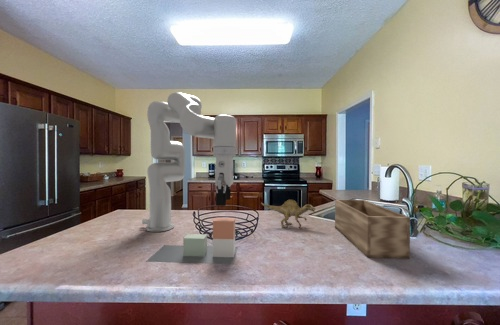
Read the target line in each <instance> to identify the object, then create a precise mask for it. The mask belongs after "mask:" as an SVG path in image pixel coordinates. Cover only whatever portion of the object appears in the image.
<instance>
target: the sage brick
mask: <svg viewBox="0 0 500 325" xmlns="http://www.w3.org/2000/svg"><path fill="white" fill-rule="evenodd" d="M182 241H183V243H182V244H183V245H182V246H183V256H203V257H204V256H205V254H206V252H207V246H208V234H207V233H205V234H202V233H201V234H199V233H198V234H197V233H196V234H195V233H193V234H192V233H187V234H186V235H185V236H184V237H183V240H182Z"/></svg>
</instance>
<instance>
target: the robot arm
mask: <svg viewBox="0 0 500 325" xmlns="http://www.w3.org/2000/svg"><path fill="white" fill-rule="evenodd" d="M201 113H202V101H201V100H200V98H198V97H197V96H195V95H191V94H187V93H183V92H180V91H174V92H172V93H170V94H169V95H168V96H167V101H166V102H165V101H161V100H160V101H159V100H156V101H152V102H151V103H149V105H148V107H147V113H146V115H147V117H146V118H147V121H148V122H147V123H148V125H149V129H150V154H151V157H152V159H154V160H161V161H163V160H164V161H165V160H166V161H168V160H169V161H172V162H153V163H151V164H150V165H149V166H148V167H147V171H146V172H147V178H148V186H149V218H142V221H141V224H142V225H147V226H145V230H146V231H147V232H152V233H160V232H166V231H170V230H172V229H173V228H174V227H175V223H174V222H172V191H171V188H170V186H169V185H168V184H167V183H169V182H171V183H172V182H179V181H182V180H183V179H184V178H185V173H186V150H185V146H184V144H183V143H182V142H180V141H177V140H171V133H170V129H169V127H168V125H167V124H166V122H170V123H176V124H180V127H181V128H182V129H183V131H185V132H186V133H187V134H188V135H190V136H191V137H194V138H203V139H205V138H206V139H212V140H213V152H212V153H213V157H215V170H214V171H215V172H214V174H215V176H214V177H215V178H214V180H215V183H214V184H215V187H216V189H215V190H216V193H215V206H222V207H224V206H226V205H227V201H229V200H231V190H232V189H231V186H232V185H233V184H234V158H235V157H236V153H237V152H236V149H237V147H236V145H237V144H236V142H237V140H236V138H237V137H236V136H237V119H236V117H235V116H233V115H227V114H219V115H216V116H215V117H211V116H205V115H202V114H201ZM164 121H165V122H164ZM233 157H234V158H233Z"/></svg>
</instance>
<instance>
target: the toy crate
mask: <svg viewBox="0 0 500 325" xmlns="http://www.w3.org/2000/svg"><path fill="white" fill-rule="evenodd" d="M334 201H335V202H334V204H335V205H334V206H335V207H334V229H335V230H337V231H338V232H339V233H340V235H342V236H343V237H344V238H345V239H346V240H348V242H350V244H352V245H353V246H354V247H355V248H356V249H357V250H358V251H360V253H361V254H362V255H364V256H365V257H366V258H369V259H370V258H371V259H401V260H402V259H407V260H409V259H410V258H411V257H410V255H411V253H410V252H411V217H409V216H407V215H404V214H401V213H399V212H397V211H394V210H391V209H389V208H386V207H384V206H381V205H379V204H376V203H373V202H370V201H368V200H365V199H335V200H334Z"/></svg>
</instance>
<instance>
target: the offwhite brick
mask: <svg viewBox="0 0 500 325" xmlns="http://www.w3.org/2000/svg"><path fill="white" fill-rule="evenodd" d="M212 246H213V257H234V254H235V247H236V236H235V237H234V239H213V238H212Z"/></svg>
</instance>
